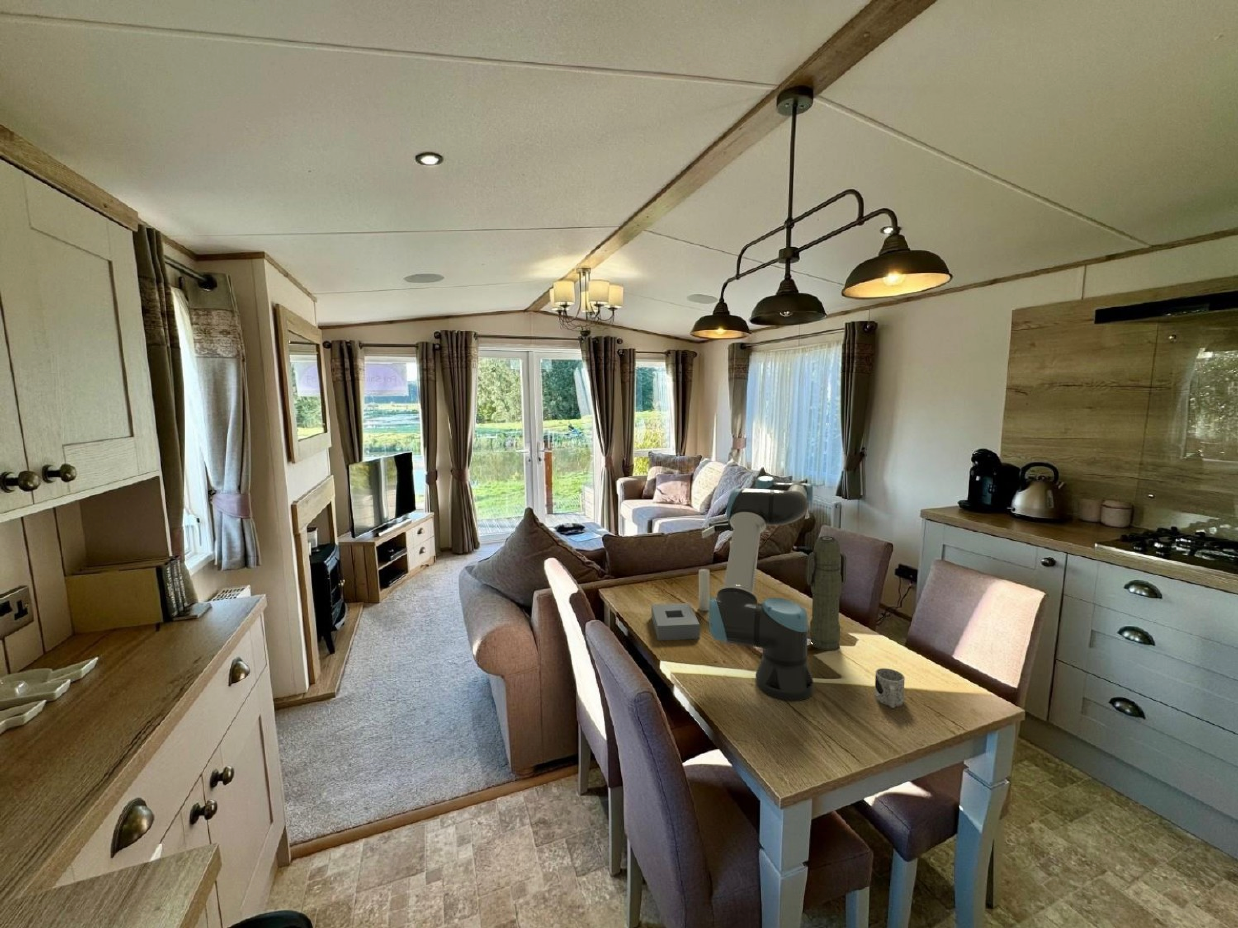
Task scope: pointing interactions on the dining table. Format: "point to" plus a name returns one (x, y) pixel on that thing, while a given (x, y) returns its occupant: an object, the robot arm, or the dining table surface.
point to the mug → (889, 687)
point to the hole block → (675, 621)
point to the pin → (704, 589)
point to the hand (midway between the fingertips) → (716, 540)
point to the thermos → (826, 592)
